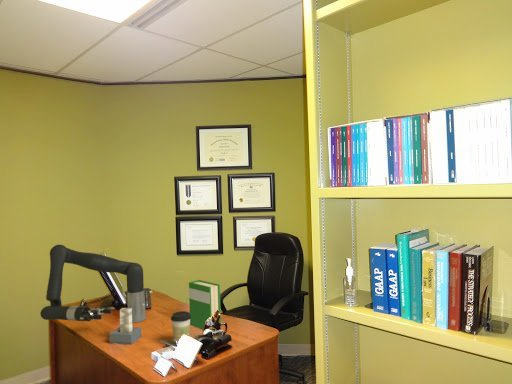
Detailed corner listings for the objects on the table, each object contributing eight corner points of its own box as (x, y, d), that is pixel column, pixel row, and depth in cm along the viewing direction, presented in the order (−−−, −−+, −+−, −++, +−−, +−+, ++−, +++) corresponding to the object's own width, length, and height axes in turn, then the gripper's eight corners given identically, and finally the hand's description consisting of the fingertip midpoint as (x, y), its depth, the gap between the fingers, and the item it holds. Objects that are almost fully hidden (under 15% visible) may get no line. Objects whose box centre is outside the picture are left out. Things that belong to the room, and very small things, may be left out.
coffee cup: (191, 348, 181) (190, 317, 181) (170, 349, 181) (169, 318, 180) (192, 339, 191) (191, 310, 191) (173, 341, 190) (172, 311, 190)
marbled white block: (120, 339, 192) (119, 309, 192) (123, 336, 195) (122, 308, 195) (129, 339, 191) (128, 310, 191) (132, 337, 194) (131, 308, 194)
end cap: (109, 343, 190) (109, 333, 190) (120, 335, 200) (120, 326, 200) (131, 344, 187) (131, 334, 187) (141, 336, 197) (141, 327, 197)
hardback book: (221, 328, 206) (219, 284, 206) (210, 332, 201) (209, 287, 201) (200, 321, 218) (199, 279, 218) (190, 324, 213) (188, 282, 212)
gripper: (68, 310, 192) (97, 311, 189) (86, 302, 206) (113, 302, 203) (69, 325, 192) (98, 326, 189) (87, 315, 206) (114, 316, 203)
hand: (106, 314), depth 196 cm, fingers open, 8 cm apart
